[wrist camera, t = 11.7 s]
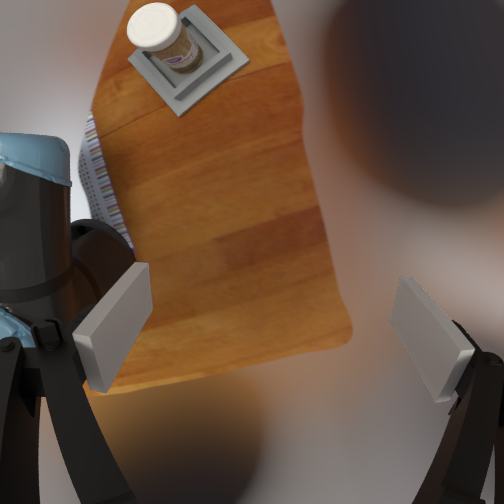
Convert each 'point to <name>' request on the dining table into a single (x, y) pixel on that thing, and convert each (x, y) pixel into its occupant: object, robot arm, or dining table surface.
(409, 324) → the robot arm
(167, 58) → the spice jar
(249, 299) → the dining table surface
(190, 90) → the holder
